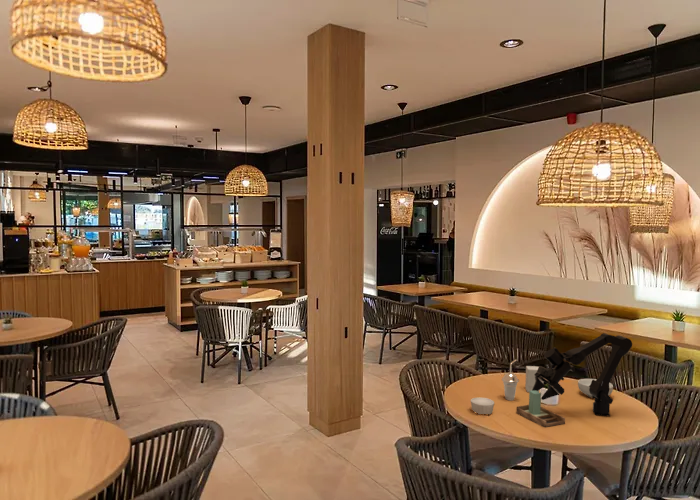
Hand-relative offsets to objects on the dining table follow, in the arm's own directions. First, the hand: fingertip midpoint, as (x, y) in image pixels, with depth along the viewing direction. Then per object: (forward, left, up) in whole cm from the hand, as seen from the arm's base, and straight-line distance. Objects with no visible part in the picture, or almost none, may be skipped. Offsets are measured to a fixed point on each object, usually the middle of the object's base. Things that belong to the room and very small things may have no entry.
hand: (536, 395), depth 245 cm
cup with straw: (+12, -20, -10) cm, 25 cm away
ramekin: (+25, +3, -10) cm, 27 cm away
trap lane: (-2, +3, -9) cm, 10 cm away
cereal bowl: (-31, -40, -10) cm, 52 cm away
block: (+1, 0, -8) cm, 8 cm away
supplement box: (0, -38, -10) cm, 39 cm away
